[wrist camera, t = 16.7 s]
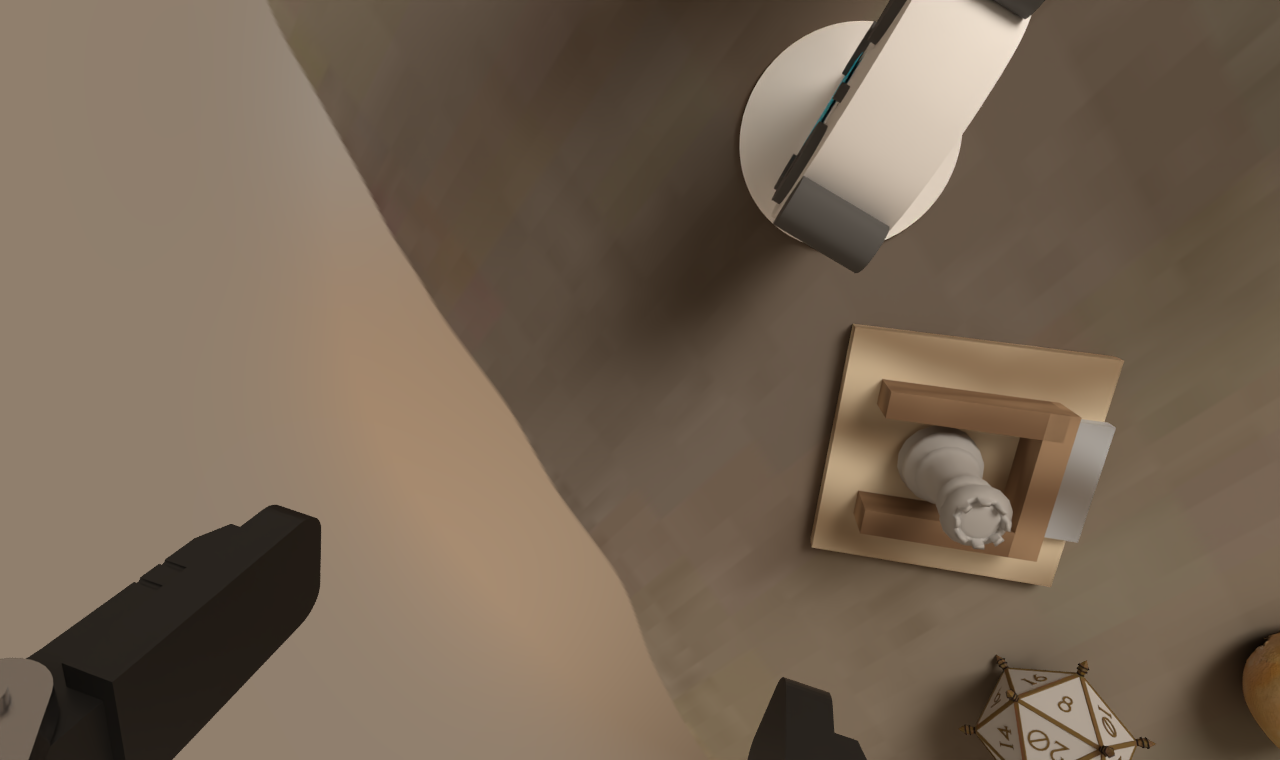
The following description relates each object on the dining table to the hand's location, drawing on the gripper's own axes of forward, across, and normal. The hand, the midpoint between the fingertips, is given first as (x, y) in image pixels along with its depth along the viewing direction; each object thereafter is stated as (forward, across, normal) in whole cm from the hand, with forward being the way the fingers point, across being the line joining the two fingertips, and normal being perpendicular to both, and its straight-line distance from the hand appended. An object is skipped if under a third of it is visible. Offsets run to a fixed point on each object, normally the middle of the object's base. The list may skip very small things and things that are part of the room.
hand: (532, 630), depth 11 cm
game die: (+28, -26, +21) cm, 44 cm away
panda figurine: (+31, -5, -8) cm, 33 cm away
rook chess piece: (+29, -15, +8) cm, 33 cm away
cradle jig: (+30, -16, +8) cm, 35 cm away
